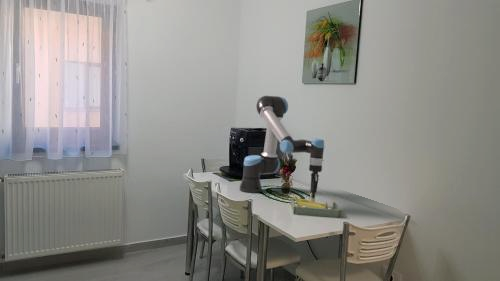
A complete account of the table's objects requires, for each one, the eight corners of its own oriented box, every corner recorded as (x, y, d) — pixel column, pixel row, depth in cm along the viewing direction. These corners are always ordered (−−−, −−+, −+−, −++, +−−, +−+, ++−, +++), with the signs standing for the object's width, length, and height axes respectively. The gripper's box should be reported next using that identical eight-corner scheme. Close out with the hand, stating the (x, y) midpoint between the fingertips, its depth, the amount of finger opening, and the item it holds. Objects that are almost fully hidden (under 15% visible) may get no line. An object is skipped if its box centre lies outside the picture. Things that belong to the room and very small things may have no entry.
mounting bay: (290, 205, 224) (291, 198, 224) (334, 208, 224) (334, 201, 223) (293, 214, 208) (294, 206, 207) (340, 217, 207) (341, 209, 207)
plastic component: (327, 205, 222) (326, 201, 213) (324, 217, 220) (323, 214, 211) (295, 197, 229) (293, 193, 220) (292, 209, 227) (290, 206, 218)
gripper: (324, 167, 217) (320, 206, 220) (320, 163, 230) (316, 200, 233) (311, 166, 217) (307, 205, 220) (308, 162, 230) (304, 199, 233)
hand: (312, 202), depth 226 cm, fingers closed
